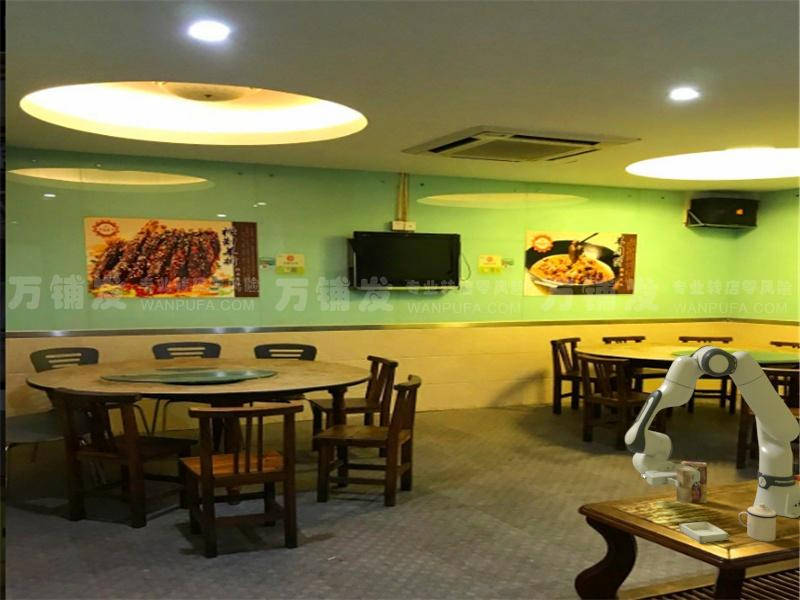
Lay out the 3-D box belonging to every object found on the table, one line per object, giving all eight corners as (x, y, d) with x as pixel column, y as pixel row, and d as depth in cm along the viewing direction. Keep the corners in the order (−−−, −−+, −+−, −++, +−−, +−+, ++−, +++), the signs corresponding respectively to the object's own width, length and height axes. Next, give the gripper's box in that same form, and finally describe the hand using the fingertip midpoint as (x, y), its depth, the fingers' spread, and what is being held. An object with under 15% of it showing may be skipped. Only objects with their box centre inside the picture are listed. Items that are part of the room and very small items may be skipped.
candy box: (705, 500, 266) (706, 462, 266) (707, 503, 262) (707, 465, 262) (681, 497, 269) (682, 460, 268) (682, 501, 265) (683, 463, 264)
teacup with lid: (780, 537, 230) (780, 503, 230) (771, 544, 224) (771, 510, 223) (743, 527, 239) (743, 495, 238) (733, 534, 233) (734, 501, 232)
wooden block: (685, 499, 246) (685, 467, 245) (691, 502, 242) (691, 470, 242) (676, 500, 245) (676, 468, 245) (682, 503, 242) (682, 471, 241)
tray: (706, 528, 238) (706, 521, 238) (728, 540, 227) (728, 533, 227) (679, 530, 236) (679, 524, 235) (699, 543, 225) (699, 536, 225)
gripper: (638, 466, 254) (660, 477, 240) (685, 461, 258) (709, 472, 245) (638, 482, 254) (660, 494, 241) (686, 478, 258) (709, 489, 245)
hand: (685, 483), depth 243 cm, fingers closed on wooden block, 4 cm apart
